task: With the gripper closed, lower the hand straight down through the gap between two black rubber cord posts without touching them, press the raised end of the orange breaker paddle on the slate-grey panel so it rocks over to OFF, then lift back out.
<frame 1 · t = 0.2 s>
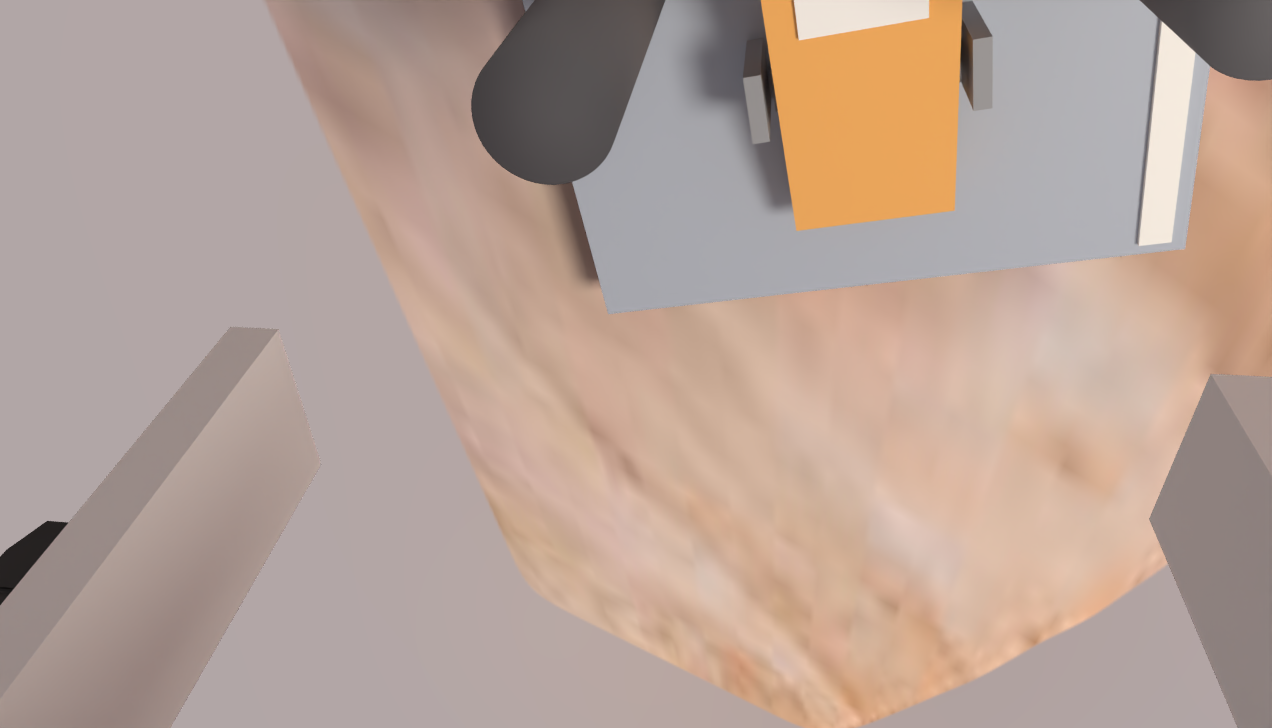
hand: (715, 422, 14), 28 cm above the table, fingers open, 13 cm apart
panel: (854, 29, 37), on the table
paddle: (864, 83, 32), point 6 cm above the table, hinge at 18.0°
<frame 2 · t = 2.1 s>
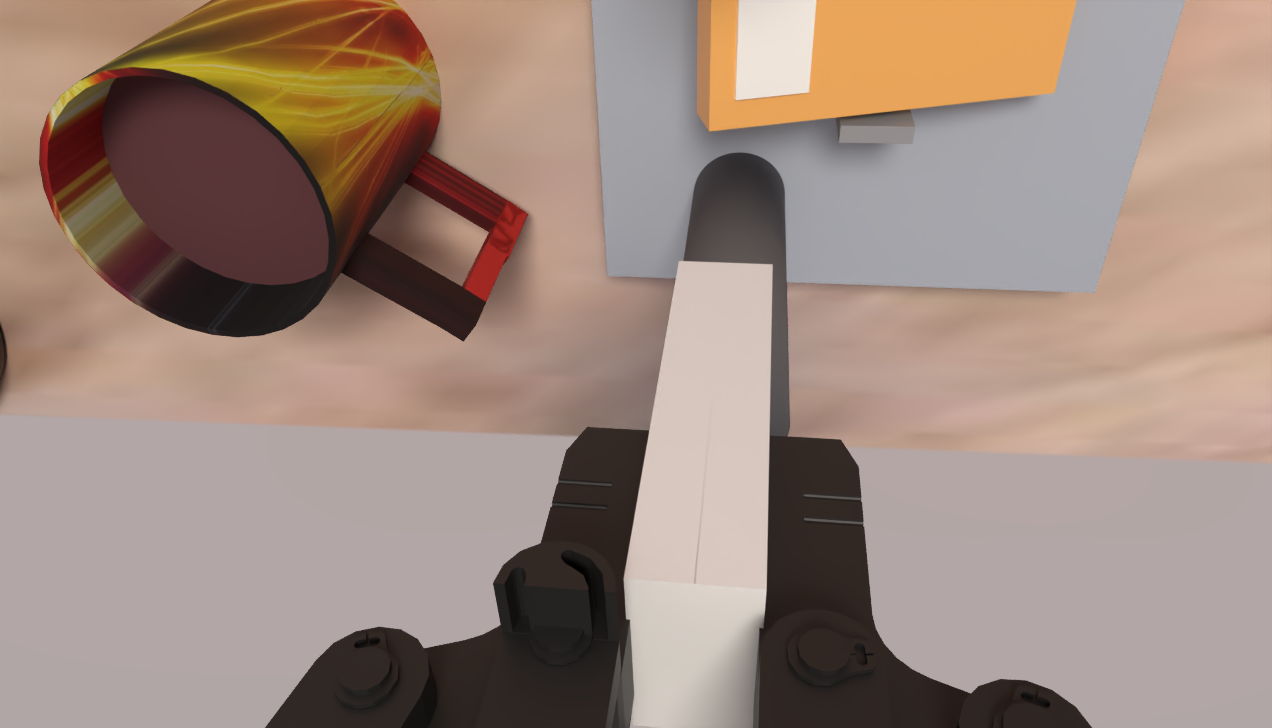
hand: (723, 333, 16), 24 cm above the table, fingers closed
mug: (380, 88, 40), on the table
paddle: (889, 11, 29), point 6 cm above the table, hinge at 18.0°
cord post a: (739, 194, 37), point 3 cm above the table, touching panel
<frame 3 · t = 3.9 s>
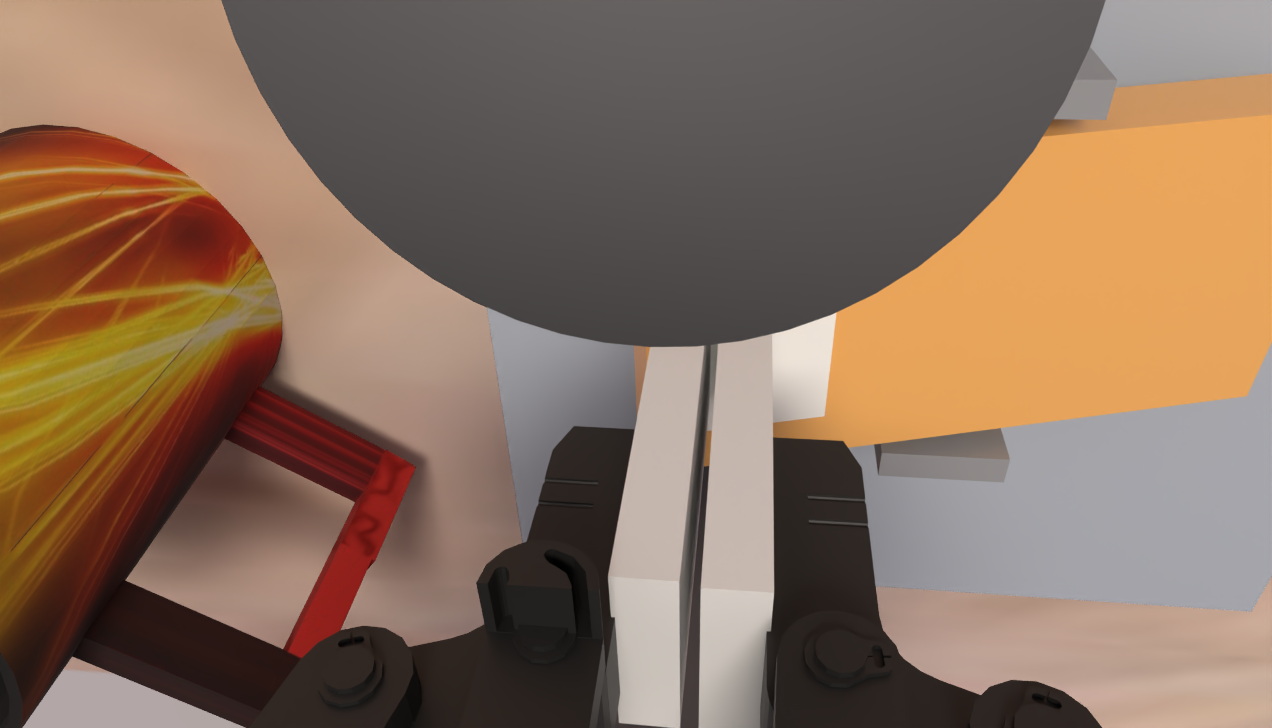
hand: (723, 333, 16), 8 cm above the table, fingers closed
mug: (192, 293, 27), on the table
panel: (924, 141, 22), on the table
paddle: (970, 280, 17), point 6 cm above the table, hinge at 15.2°, touching gripper
cord post a: (716, 473, 24), point 3 cm above the table, touching panel
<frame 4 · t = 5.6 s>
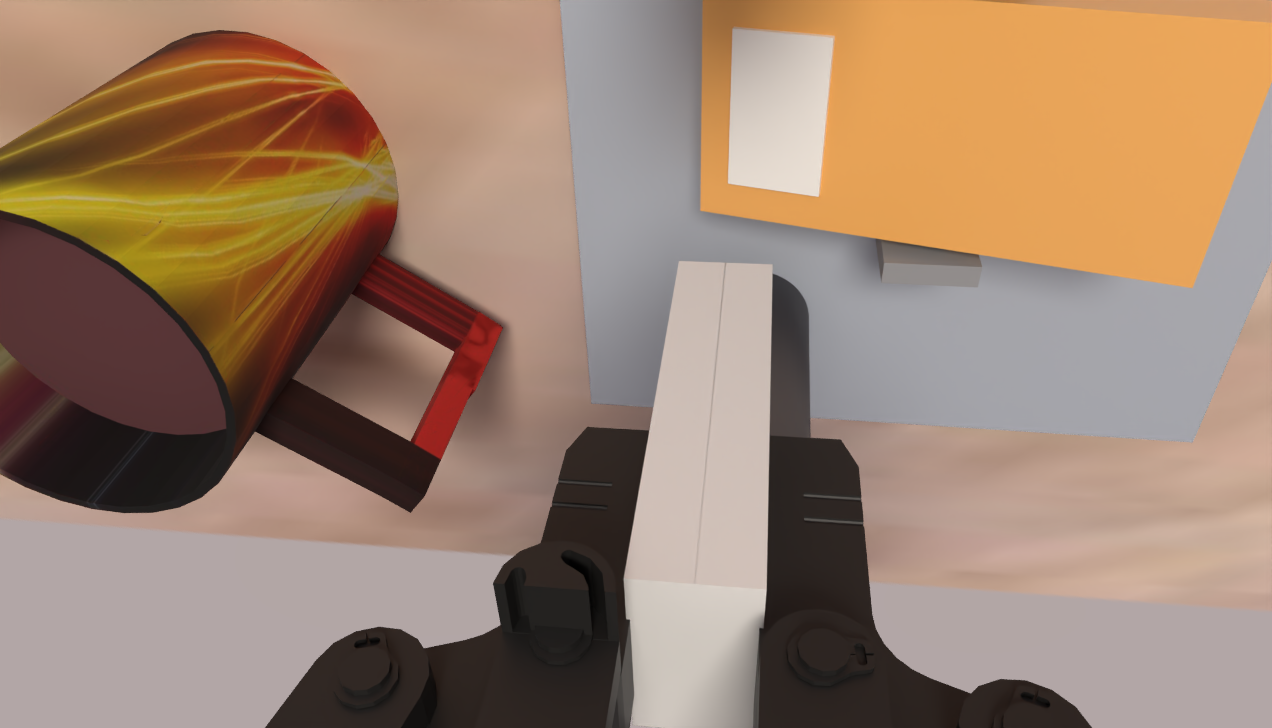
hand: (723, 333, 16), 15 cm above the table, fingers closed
mug: (325, 177, 33), on the table
panel: (924, 39, 27), on the table
paddle: (950, 121, 22), point 6 cm above the table, hinge at -14.0°
cord post a: (752, 318, 30), point 3 cm above the table, touching panel
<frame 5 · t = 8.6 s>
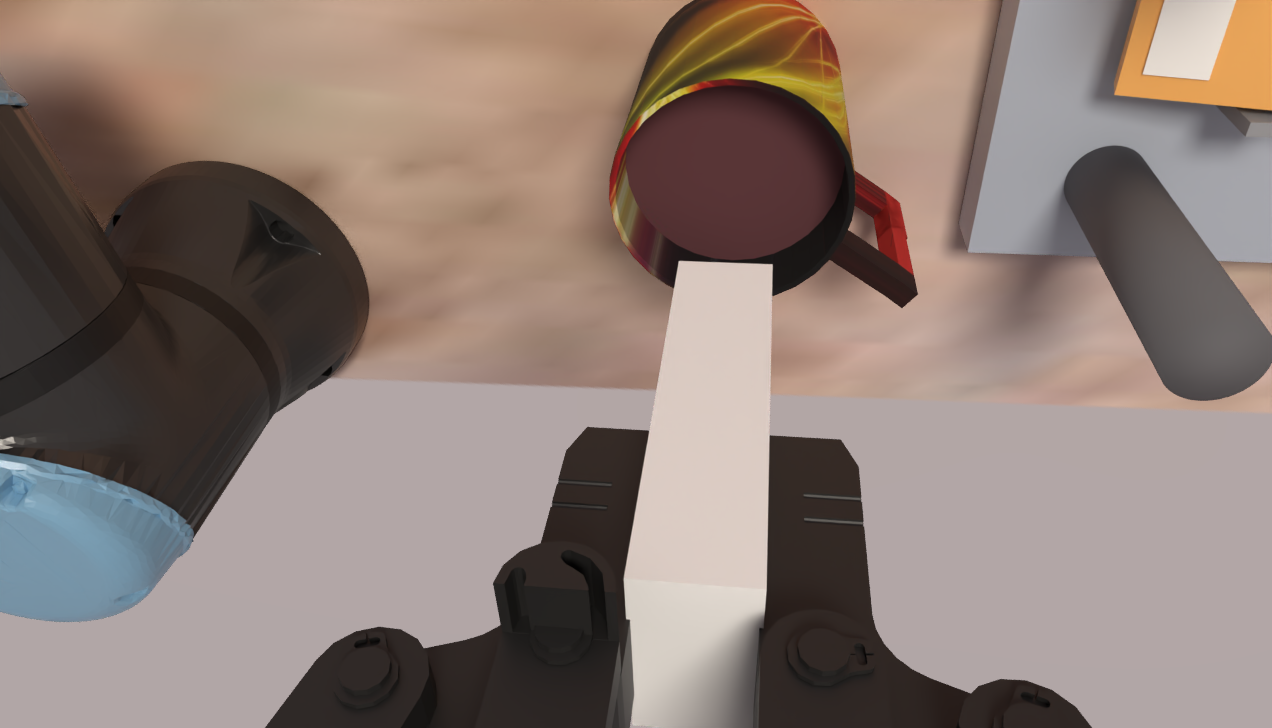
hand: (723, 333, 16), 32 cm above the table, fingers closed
mug: (783, 93, 46), on the table
cord post a: (1105, 181, 44), point 3 cm above the table, touching panel
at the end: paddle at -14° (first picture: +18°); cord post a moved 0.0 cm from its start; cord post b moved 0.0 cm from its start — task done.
